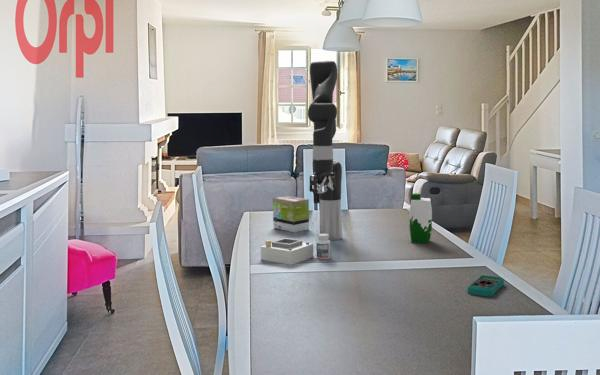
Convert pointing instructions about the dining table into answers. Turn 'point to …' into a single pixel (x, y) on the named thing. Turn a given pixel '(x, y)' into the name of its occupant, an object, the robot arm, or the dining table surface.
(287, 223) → the tea box
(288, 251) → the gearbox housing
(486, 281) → the digital multimeter
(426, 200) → the milk carton
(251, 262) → the dining table surface
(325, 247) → the pill bottle
